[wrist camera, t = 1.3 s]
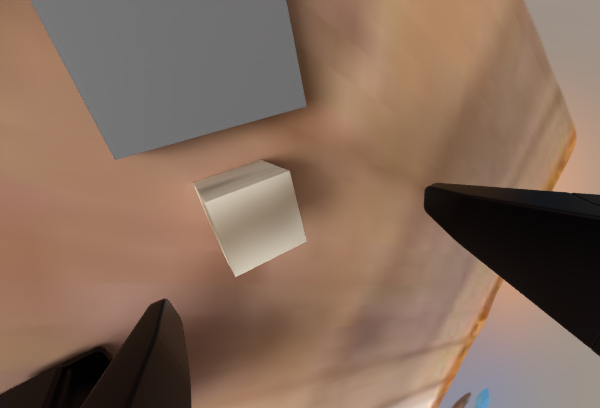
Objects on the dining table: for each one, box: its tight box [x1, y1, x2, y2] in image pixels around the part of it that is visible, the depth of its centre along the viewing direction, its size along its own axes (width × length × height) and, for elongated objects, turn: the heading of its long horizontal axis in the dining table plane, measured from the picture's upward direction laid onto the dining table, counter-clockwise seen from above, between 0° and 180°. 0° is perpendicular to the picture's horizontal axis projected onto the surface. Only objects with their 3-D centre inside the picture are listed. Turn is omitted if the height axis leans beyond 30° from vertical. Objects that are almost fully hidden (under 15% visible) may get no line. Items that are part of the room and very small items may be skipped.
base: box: [30, 0, 307, 160], centre depth 13 cm, size 11×11×3 cm
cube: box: [193, 160, 306, 277], centre depth 17 cm, size 5×5×5 cm
